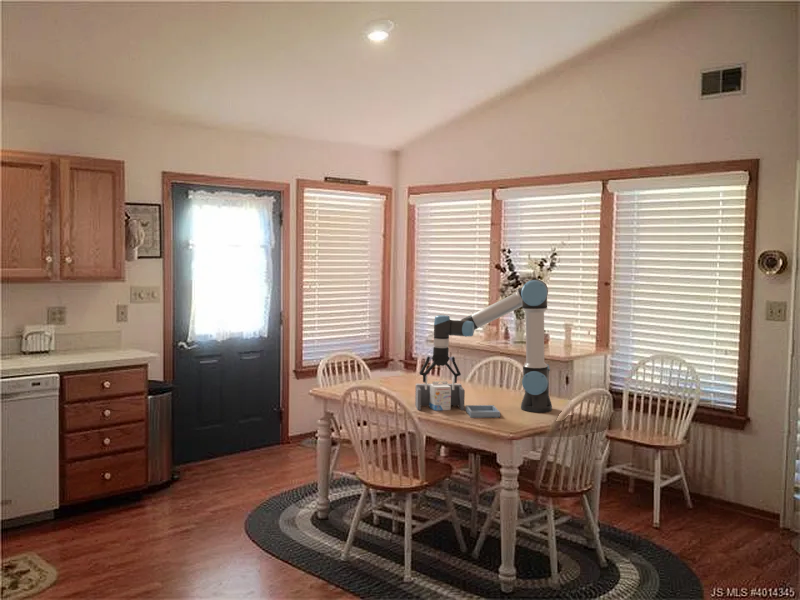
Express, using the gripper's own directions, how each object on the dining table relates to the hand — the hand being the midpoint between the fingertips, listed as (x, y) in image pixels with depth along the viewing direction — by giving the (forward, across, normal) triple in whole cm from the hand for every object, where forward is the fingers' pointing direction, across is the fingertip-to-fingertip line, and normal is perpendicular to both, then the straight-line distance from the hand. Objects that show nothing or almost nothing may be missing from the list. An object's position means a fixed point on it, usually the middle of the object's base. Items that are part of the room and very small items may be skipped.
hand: (439, 389), depth 352 cm
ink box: (+10, 0, 0) cm, 10 cm away
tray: (+9, -20, +12) cm, 25 cm away
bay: (+10, -1, -2) cm, 10 cm away
